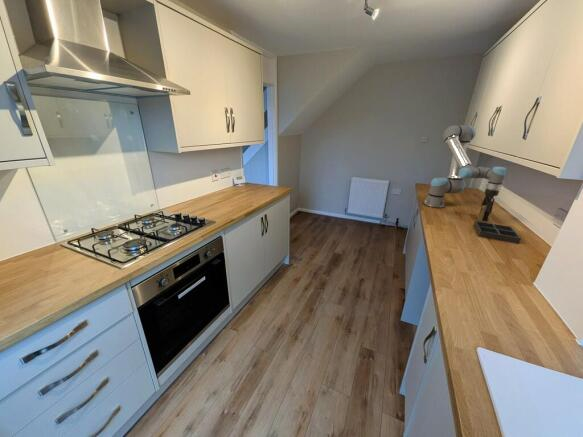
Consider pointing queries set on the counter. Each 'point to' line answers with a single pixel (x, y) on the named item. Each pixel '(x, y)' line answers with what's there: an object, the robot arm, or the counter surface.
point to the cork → (482, 212)
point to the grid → (496, 232)
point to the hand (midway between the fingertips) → (482, 218)
